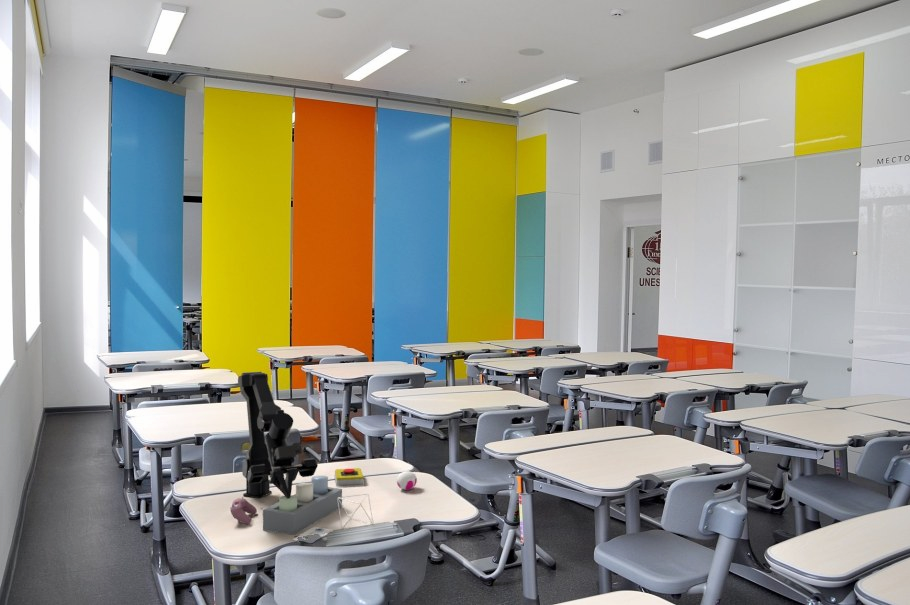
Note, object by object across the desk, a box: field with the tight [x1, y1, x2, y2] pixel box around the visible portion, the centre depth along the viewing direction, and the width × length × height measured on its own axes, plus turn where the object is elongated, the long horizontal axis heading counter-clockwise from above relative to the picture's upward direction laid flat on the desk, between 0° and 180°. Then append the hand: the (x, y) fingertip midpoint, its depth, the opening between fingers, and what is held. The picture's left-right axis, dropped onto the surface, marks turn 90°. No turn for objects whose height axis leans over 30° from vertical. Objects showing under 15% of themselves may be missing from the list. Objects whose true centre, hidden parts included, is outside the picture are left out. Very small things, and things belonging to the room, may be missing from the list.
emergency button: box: [334, 467, 365, 488], centre depth 236 cm, size 9×4×15 cm
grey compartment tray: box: [262, 486, 343, 536], centre depth 198 cm, size 10×25×6 cm, turn 159°
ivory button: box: [295, 482, 313, 503], centre depth 198 cm, size 5×5×5 cm
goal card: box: [292, 526, 334, 542], centre depth 184 cm, size 6×10×1 cm, turn 159°
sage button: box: [278, 494, 297, 512], centre depth 190 cm, size 5×5×5 cm
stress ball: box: [396, 470, 418, 491], centre depth 227 cm, size 8×8×7 cm
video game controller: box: [229, 497, 258, 525], centre depth 196 cm, size 10×5×7 cm, turn 5°
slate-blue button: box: [310, 475, 329, 495], centre depth 205 cm, size 5×5×5 cm
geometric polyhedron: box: [337, 493, 374, 530], centre depth 193 cm, size 10×9×8 cm
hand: (288, 497), depth 190 cm, fingers closed, pressing on sage button
